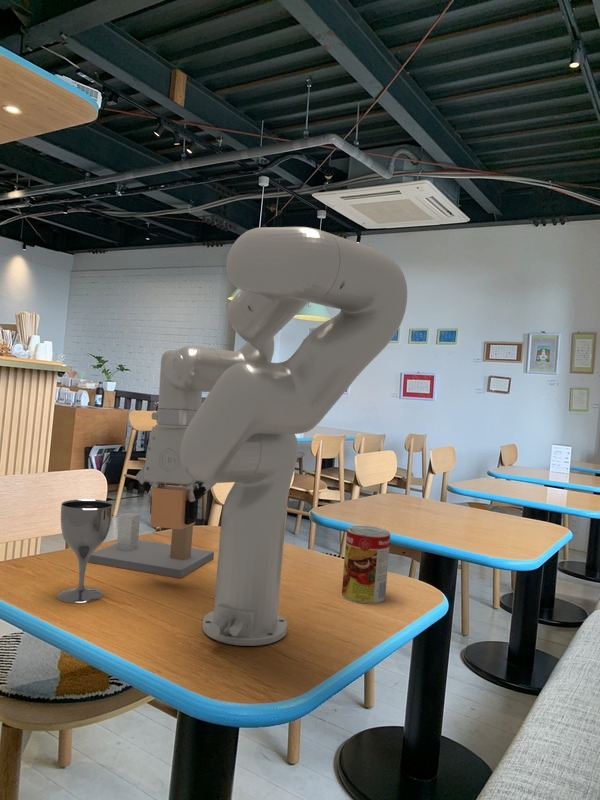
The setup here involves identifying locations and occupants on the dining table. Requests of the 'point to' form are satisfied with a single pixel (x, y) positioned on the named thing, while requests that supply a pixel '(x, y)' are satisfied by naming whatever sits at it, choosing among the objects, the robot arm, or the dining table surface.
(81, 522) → the wine glass
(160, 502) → the tan cardboard box
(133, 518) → the steel post
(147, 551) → the post stand
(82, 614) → the dining table surface
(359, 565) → the canned food
